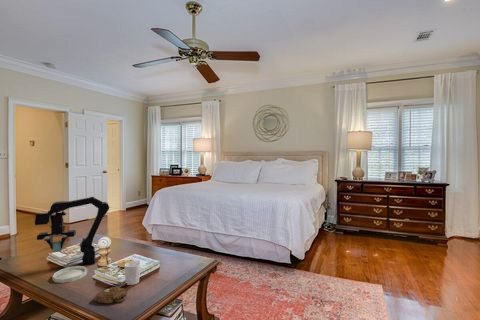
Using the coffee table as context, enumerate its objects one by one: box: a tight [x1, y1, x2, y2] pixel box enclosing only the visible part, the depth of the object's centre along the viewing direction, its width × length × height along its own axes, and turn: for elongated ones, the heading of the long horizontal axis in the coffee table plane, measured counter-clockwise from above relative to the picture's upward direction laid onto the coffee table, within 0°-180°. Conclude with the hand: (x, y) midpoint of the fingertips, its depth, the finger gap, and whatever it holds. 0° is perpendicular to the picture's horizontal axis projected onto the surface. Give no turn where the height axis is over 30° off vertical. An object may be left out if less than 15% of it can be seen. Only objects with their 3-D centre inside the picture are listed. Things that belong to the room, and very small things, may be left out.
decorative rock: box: [93, 286, 128, 304], centre depth 125 cm, size 11×4×15 cm
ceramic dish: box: [52, 265, 88, 284], centre depth 148 cm, size 16×16×2 cm
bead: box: [52, 240, 63, 253], centre depth 156 cm, size 4×4×5 cm
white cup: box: [124, 260, 141, 286], centre depth 141 cm, size 8×8×10 cm
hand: (57, 248), depth 156 cm, fingers closed on bead, 4 cm apart
